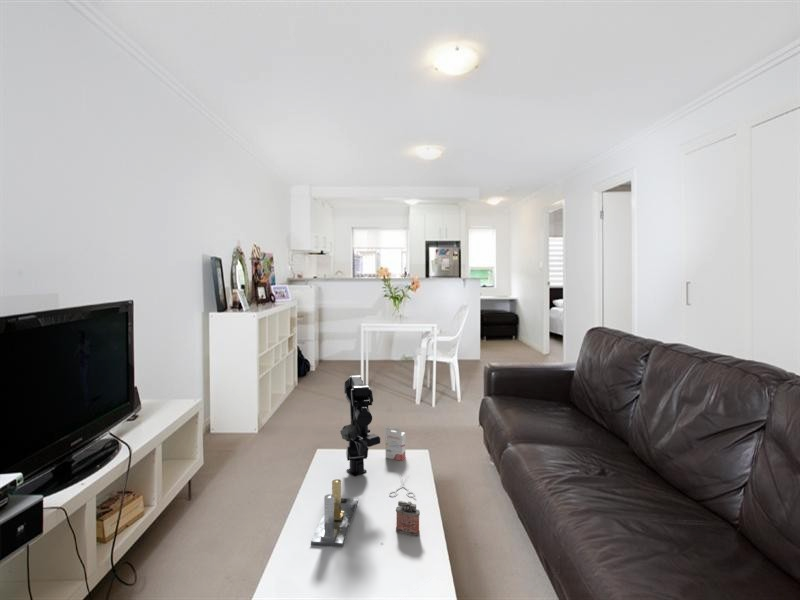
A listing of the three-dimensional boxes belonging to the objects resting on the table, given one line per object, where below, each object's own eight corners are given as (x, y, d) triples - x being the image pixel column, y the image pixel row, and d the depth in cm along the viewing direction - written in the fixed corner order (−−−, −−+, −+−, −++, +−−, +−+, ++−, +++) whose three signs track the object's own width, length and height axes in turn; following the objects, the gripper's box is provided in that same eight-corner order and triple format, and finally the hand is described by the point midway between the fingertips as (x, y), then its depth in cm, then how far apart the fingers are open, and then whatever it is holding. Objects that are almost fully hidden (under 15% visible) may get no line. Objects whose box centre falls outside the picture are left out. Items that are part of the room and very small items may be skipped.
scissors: (388, 498, 147) (392, 472, 167) (388, 500, 147) (392, 474, 167) (416, 499, 146) (416, 473, 166) (416, 501, 146) (416, 475, 166)
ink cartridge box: (405, 456, 183) (406, 426, 182) (401, 461, 178) (402, 429, 178) (389, 453, 186) (389, 423, 186) (385, 457, 182) (385, 427, 181)
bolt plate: (331, 500, 146) (331, 463, 145) (357, 501, 145) (357, 465, 144) (310, 545, 121) (310, 501, 120) (342, 547, 120) (342, 502, 119)
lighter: (420, 531, 128) (421, 502, 127) (417, 538, 124) (418, 507, 124) (397, 526, 130) (398, 497, 130) (394, 532, 127) (394, 503, 127)
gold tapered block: (331, 513, 135) (331, 478, 134) (344, 513, 134) (344, 479, 134) (328, 519, 131) (328, 483, 131) (341, 520, 131) (341, 484, 130)
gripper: (331, 415, 156) (331, 453, 156) (357, 428, 142) (357, 470, 142) (354, 409, 163) (354, 446, 164) (381, 421, 149) (381, 461, 149)
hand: (360, 455), depth 154 cm, fingers closed
